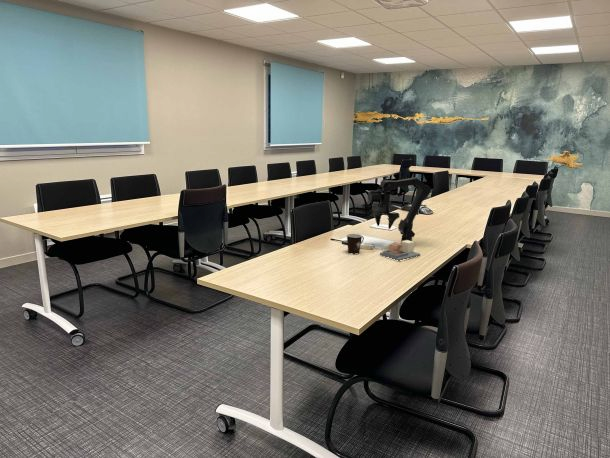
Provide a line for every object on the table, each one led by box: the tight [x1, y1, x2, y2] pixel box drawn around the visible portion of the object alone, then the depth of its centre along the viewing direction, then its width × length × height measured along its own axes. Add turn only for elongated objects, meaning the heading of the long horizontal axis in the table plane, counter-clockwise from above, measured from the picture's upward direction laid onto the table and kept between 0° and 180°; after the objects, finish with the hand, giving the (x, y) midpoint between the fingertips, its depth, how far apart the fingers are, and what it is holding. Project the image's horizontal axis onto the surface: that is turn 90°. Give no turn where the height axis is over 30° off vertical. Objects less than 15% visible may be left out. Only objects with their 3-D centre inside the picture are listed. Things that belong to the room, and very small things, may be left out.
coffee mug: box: [346, 233, 365, 255], centre depth 244 cm, size 12×9×10 cm
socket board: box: [379, 240, 421, 262], centre depth 239 cm, size 18×14×8 cm
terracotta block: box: [388, 242, 402, 255], centre depth 237 cm, size 5×5×6 cm
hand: (383, 227), depth 255 cm, fingers open, 9 cm apart
